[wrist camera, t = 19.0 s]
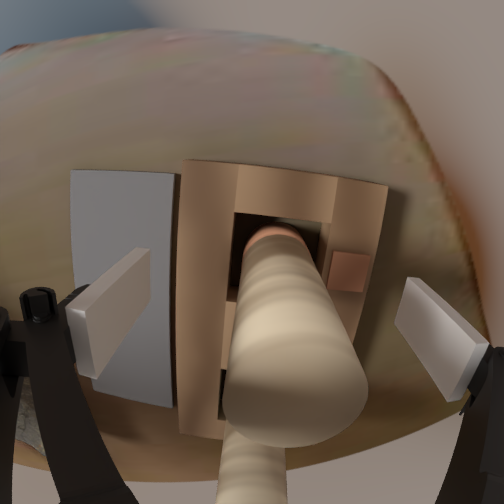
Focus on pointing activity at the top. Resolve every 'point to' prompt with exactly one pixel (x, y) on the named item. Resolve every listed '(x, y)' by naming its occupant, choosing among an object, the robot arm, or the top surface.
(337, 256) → the socket board
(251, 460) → the peg
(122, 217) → the mat
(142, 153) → the top surface
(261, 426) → the peg
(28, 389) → the rock
